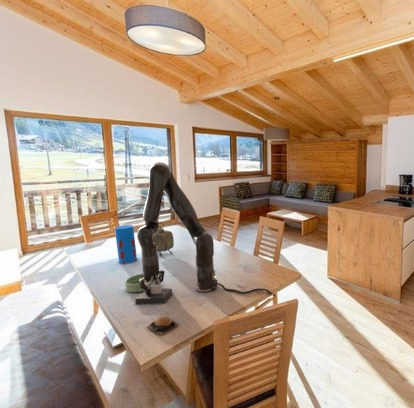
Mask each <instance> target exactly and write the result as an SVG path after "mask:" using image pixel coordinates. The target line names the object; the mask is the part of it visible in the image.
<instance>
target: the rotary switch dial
mask: <svg viewBox="0 0 414 408" xmlns="http://www.w3.org/2000/svg"><path fill="white" fill-rule="evenodd" d="M161 289H162V292H161V293H159V294H151V295H150V296H148V295H146V291H145V290H144V291H141V292H140V294H138V296H137V297H136V298H135V305H148V304H149V305H153V304H155V305H156V304H165V303H166V302H167V301H168V299H169V298H170V297H171V296H172V294H173V289H172V288H161Z"/></svg>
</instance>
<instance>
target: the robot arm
mask: <svg viewBox="0 0 414 408" xmlns="http://www.w3.org/2000/svg"><path fill="white" fill-rule="evenodd" d="M148 173H149V183H148V184H149V186H148V191H147V192H148V193H147V197H146V201H145V204H144V209H143V214H142V220H143V221H144V225H143V226H142V227H140V228H139V229H138V230H137V232H136V235H137V236H136V237H137V240H138V244H139V246H140V249H141V250H140V251H141V266H142V274H144V276H143V278H142V279H139V280H138V282H139V284H140V287H141V289H144V290H145V291H146V295H148V296H150V295H151V291H150V286H151V284H152V282H153V281H155V283H156V284H155V285H158V284H161V283H163V282H164V278H165V270H162V269H160V259H159V258H160V257H159V255H158V254H159V253H158V251H157V245H156V243H154V242H153V240H152V237H154V236H155V235H156V234H157V232H158V229H159V226H160V225H159V224H160V222H159V221H160V220H159V217H160V214H161V209H162V203H163V194H165V196H166V199H167V202H168V203H169V206H170V208H171V210H172V211H173V213H174V214H175V216H176V217H177V218H178V220H179V221H180V222H181V224H182V225H183V226H184V228H186V230H187V231H188V233H189V235H190V237H191V239H192V242H193V244H194V245H195V253H196V255H195V269H196V283H197V291H198V292H201V293H208V292H211V291H214V290H215V288H216V287H217V285H218V286H220V287H221V288H222V289H223V290H224V291H228V292H235V293H238V294H249V293H252V292H257V291H265V292H267V293H268V294H270V295H271V294H272V292H271V291H270V290H269V289H267V288H254V289H250V290H247V291H241V290H238V289H234V288H226V287H225V286H224V284H222V283H220V282H218V281H219V280H218V279H216V270H215V267H214V255H215V247H214V245H215V244H214V243H215V242H214V238H213V236H212V235H211V234H210V233H209V232H208V231H207V230H206V229H205V228H204V227H203V225H202V223H201V222H200V221H199V218H198V214H197V211H196V210H195V208H194V206H193V204H192V203H191V201H190V200H189V198H188V197H187V195H186V194H185V192H184V191H183V190H182V188H181V187H180V186H179V184H178V182H177V180H176V179H175V177H174V175H173V172H172V170H171V167H170V166H169V165H168V164H166V163H165V162H163V161H162V162H161V161H158V162H155V163H154V164H152V165H151V166H150V168H149V171H148ZM144 282H145V283H144ZM148 282H149V283H148Z"/></svg>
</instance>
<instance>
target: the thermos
mask: <svg viewBox="0 0 414 408" xmlns="http://www.w3.org/2000/svg"><path fill="white" fill-rule="evenodd" d="M114 235H115V241H116V250H117V255H118V256H117V257H118V262H119V264H123V265H125V264H130V263H134V262H136V261H137V260H138V258H137V247H136V238H135V229H134V226H133V225H132V224H123V225H118V226H116V227H114Z"/></svg>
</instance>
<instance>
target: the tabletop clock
mask: <svg viewBox="0 0 414 408" xmlns="http://www.w3.org/2000/svg"><path fill="white" fill-rule="evenodd" d="M159 224H160V225H159V228H158V232H157V234H156V235H155V236H154V237H152V240H153V242H154V243H156V245H157V253H158V254H159V255H158V256H159V257H162V256H163V254H162V252H163V253H164V252H167V251H168V252H169V254H171V255H172V254H173V252H172V251H171V249H173V248H174V247H175V245H174V244H175V240H174V234H173V232H172V231H171V230H165V229H164V228H165V224H164V223H163V222H159ZM161 225H162V226H161Z"/></svg>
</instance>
